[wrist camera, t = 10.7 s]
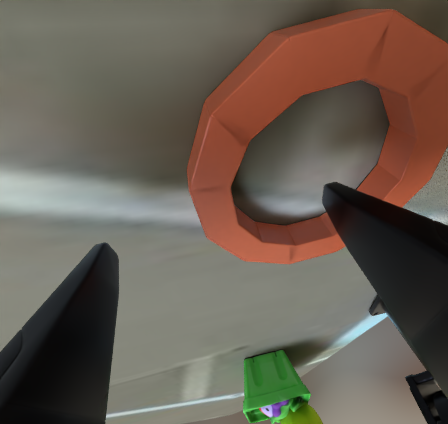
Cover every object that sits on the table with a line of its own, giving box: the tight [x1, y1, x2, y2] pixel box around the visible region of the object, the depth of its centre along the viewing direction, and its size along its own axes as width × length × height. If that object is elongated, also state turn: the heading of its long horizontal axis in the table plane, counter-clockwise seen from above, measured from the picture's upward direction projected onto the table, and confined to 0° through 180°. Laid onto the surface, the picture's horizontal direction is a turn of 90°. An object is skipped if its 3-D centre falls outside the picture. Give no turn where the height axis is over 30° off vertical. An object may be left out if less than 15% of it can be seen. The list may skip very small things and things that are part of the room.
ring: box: [187, 9, 448, 264], centre depth 10 cm, size 11×11×2 cm
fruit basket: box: [243, 350, 323, 424], centre depth 28 cm, size 11×9×11 cm
